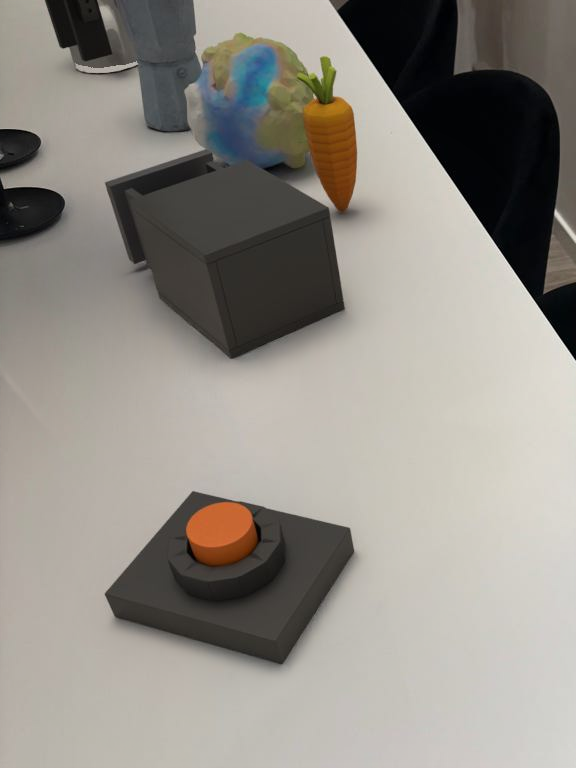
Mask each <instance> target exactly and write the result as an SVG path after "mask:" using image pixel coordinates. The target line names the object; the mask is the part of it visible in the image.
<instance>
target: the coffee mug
mask: <svg viewBox="0 0 576 768" xmlns="http://www.w3.org/2000/svg"><path fill="white" fill-rule="evenodd" d="M97 1H98V5H99V8H100V12H101V15H102V19H103V22H104V26H105V29H106V33H107V36H108V40H109V43H110V47H111V50H112V53H113V54H112V55H108V56H104V57H101V58H97V59H93V60H89V61H86V62H85V61H83V60H82V59H81V56H80V52H79V49H78V46H77V45H75V46H71V47H68V49H69V52H70V56H71V58H72V62H73V61H74V62H73V64H74V63H76V64H78V65H82V66H88V67H91V68H92V67H93V68H104V67H110V66H116V65H126V64H129V63H133V62H136V61H137V58H138V57H137V56H136V54H135V50H134V46H133V43H132V41H131V40H130V39H129V37H128V35H127V32H126V30H125V27H124V24H123V22H122V19H121V16H120V13H119V11H118V9H117V7H116V5H115V3H114V0H97Z"/></svg>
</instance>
